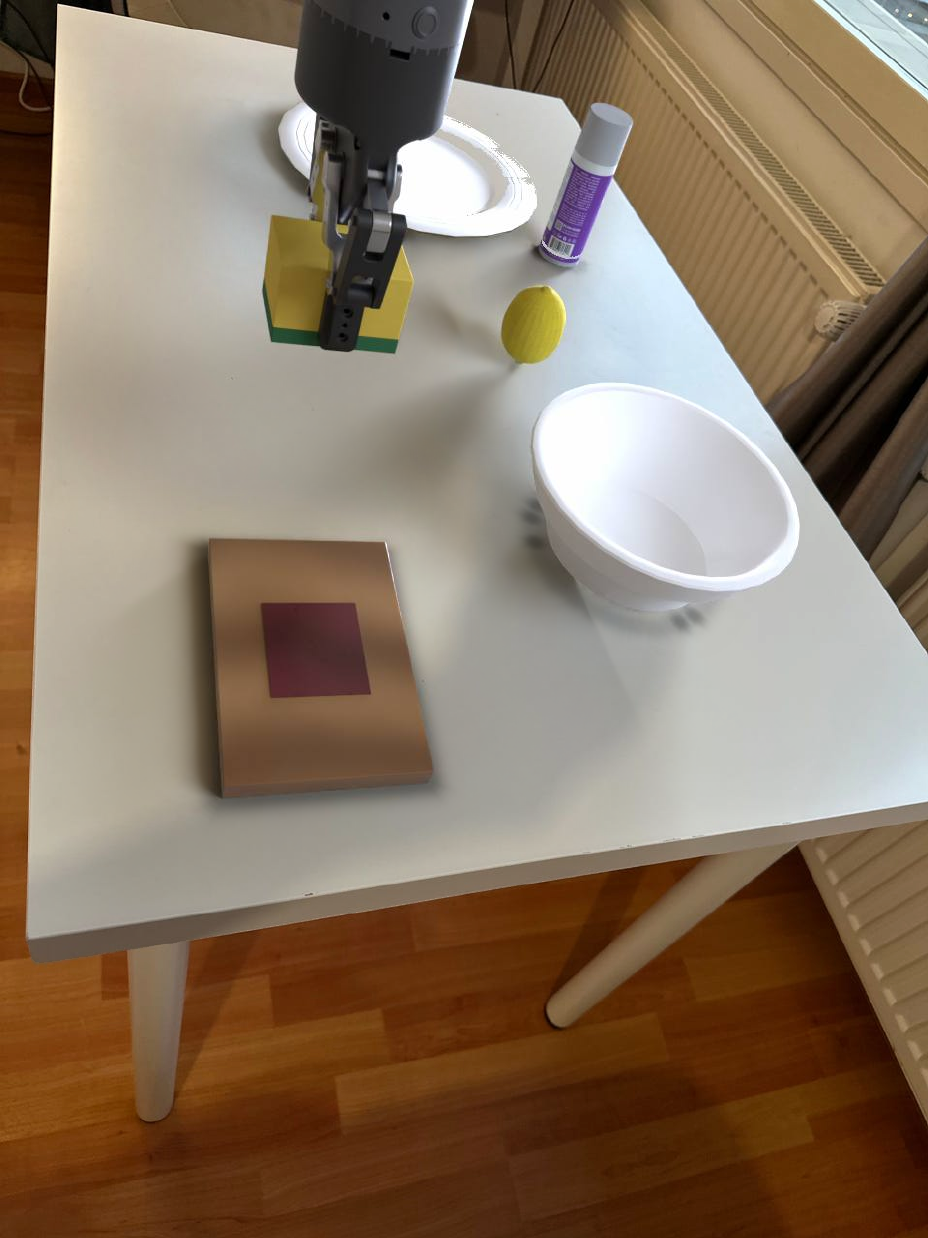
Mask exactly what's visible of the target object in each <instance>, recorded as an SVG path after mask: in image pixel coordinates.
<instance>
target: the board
mask: <svg viewBox="0 0 928 1238" xmlns="http://www.w3.org/2000/svg"><path fill="white" fill-rule="evenodd" d="M388 550H389V549H388V545H387V542H386V541H360V540H359V541H358V540H357V541H356V540H315V539H313V540H308V539H269V538H266V539H263V538H262V539H261V538H222V537H221V538H217V537H216V538H215V537H213V538H212V537H210V538H208V545H207V562H208V579H209V596H210V613H211V631H212V649H213V651H212V652H213V665H214V666H213V667H214V680H215V683H214V684H215V698H216V700H215V701H216V717H217V718H216V719H217V720H216V721H217V737H218V751H219V768H220V786H221V787H220V788H221V789H220V790H221V798H222V799H234V798H235V799H236V798H246V797H260V796H274V795H283V794H284V795H286V794H287V795H288V794H301V793H302V794H303V793H314V792H327V791H338V790H339V791H340V790H353V789H354V790H355V789H367V788H381V787H392V786H405V785H406V786H407V785H419V784H428V783H430V781H431V778H432V777H433V775H434V773H435V770H434V769H435V768H434V765H433V759H432V755H431V749H430V745H429V740H428V736H427V731H426V728H425V727H426V726H425V722H424V717H423V712H422V706H421V701H420V697H419V693H418V687H417V684H416V678H415V674H414V669H413V664H412V660H411V655H410V650H409V645H408V640H407V635H406V631H405V626H404V622H403V616H402V611H401V608H400V603H399V598H398V593H397V588H396V583H395V579H394V574H393V570H392V569H393V568H392V564H391V560H390V559H391V558H390V556H389V555H390V554H389V551H388Z"/></svg>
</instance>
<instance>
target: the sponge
mask: <svg viewBox="0 0 928 1238" xmlns="http://www.w3.org/2000/svg"><path fill="white" fill-rule="evenodd" d="M322 224H323V222H319V221H312V220H309V219H305V218H297V217H291V216H284V215H277V214H271V216H270V221H269V230H268V240H267V247H266V256H265V264H264V273H263V280H262V289H261V292H262V293H261V294H262V299H263V304H264V312H265V316H266V323H267V327H268V328H267V329H268V333H269V339H270V342H271V343H275V344H284V345H285V344H287V345H296V346H305V347H306V346H307V347H308V346H309V347H317V348H320V346H319V342H318V338H317V335H318V329H319V324H320V318H321V312H322V307H323V301H324V296H325V290H326V288H325V279H326V278H327V270H328V260H329V249H328V248H327V247H326V246H325V244H324V243H323V242H322V238H321V235H322ZM348 230H349V229H348V226H346V225H339V224H337V231H338V232H339V233H344V234H348ZM414 283H415V280H414V277H413V274H412V271H411V268H410V266H409V262H408V260H407V257H406V254H405V250H404V248H403V245H402V246H401V249H400V252H399V255H398V258H397V260H396V263H395V266H394V269H393V272H392V275H391V278H390V281H389V284H388V287H387V290H386V293H385V296H384V299H383V302H382V305H381V307H380V309H371V308H368V307H365V308H364V313H363V317H362V322H361V326H360V331H359V335H358V340H357V344H356V348H355V349H354V350H353V351H361V352H371V353H379V354H380V353H382V354H391V355H392V354H393V355H395V354H396V352H397V348H398V344H399V340H400V337H401V332H402V328H403V324H404V321H405V317H406V315H407V309H408V305H409V302H410V299H411V295H412V290H413V286H414Z"/></svg>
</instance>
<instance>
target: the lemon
mask: <svg viewBox="0 0 928 1238" xmlns="http://www.w3.org/2000/svg"><path fill="white" fill-rule="evenodd" d="M566 313H567V312H566V306H565V304H564V301H563V299H562V298H561V296H560V295H559V294H558V293H557V292H556V291H555V290H554V289H553V288H552V287H551V286H550V285H532V286H527V287H525V288H523V289H522V290H521V291H519V292H518V293H516V295H515V296H514V297H513V299H512V300H511V301H510V303H509V304H508V307H507V309H506V310H505V311H504V315H503V317H502V321H501V328H500V336H501V343H502V346H503V348H504V350H505V352H506V353H507V354H508V356H510V357H511V358H512V359H513V360H515V362H516V363H517V364H518V365H524V364H527V365H530V364H531V365H533V364H538V363H540V362H543V361H545V360H546V359H548V358H549V357H550V356H551V355H552V354H553V353H554V352H555V351H556V349H557V348H558V346H559V344H560V343H561V340H562V338H563V335H564V331H565V326H566V319H567V314H566Z"/></svg>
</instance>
